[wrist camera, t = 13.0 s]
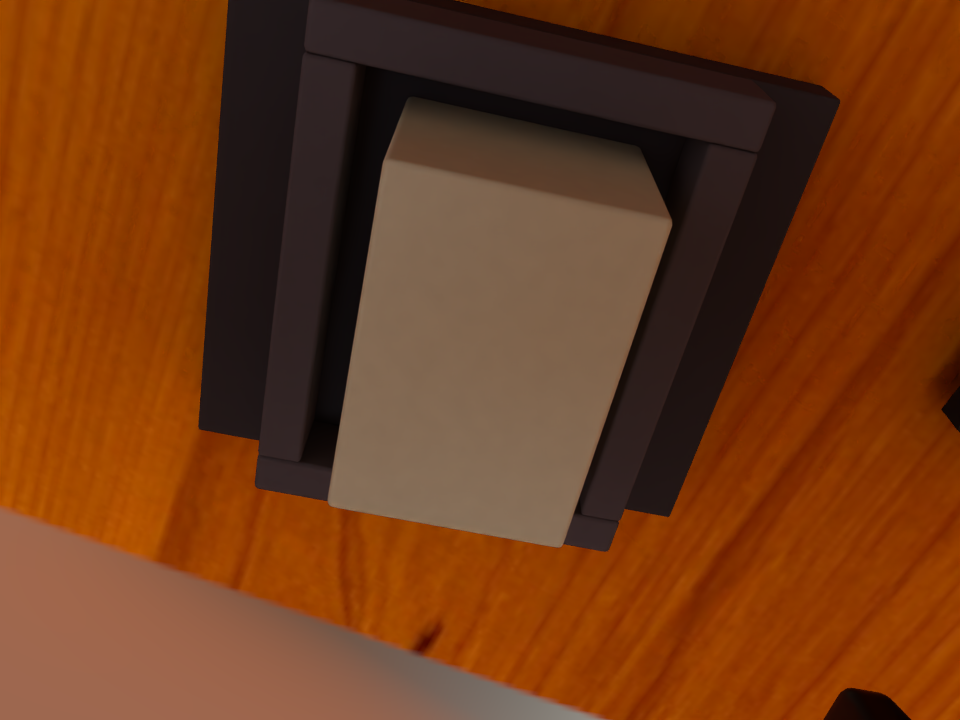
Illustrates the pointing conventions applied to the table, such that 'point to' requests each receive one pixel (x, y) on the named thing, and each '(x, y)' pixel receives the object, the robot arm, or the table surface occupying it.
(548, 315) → the beige block
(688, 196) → the dark gray square tray
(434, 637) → the table surface
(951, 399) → the remote control
